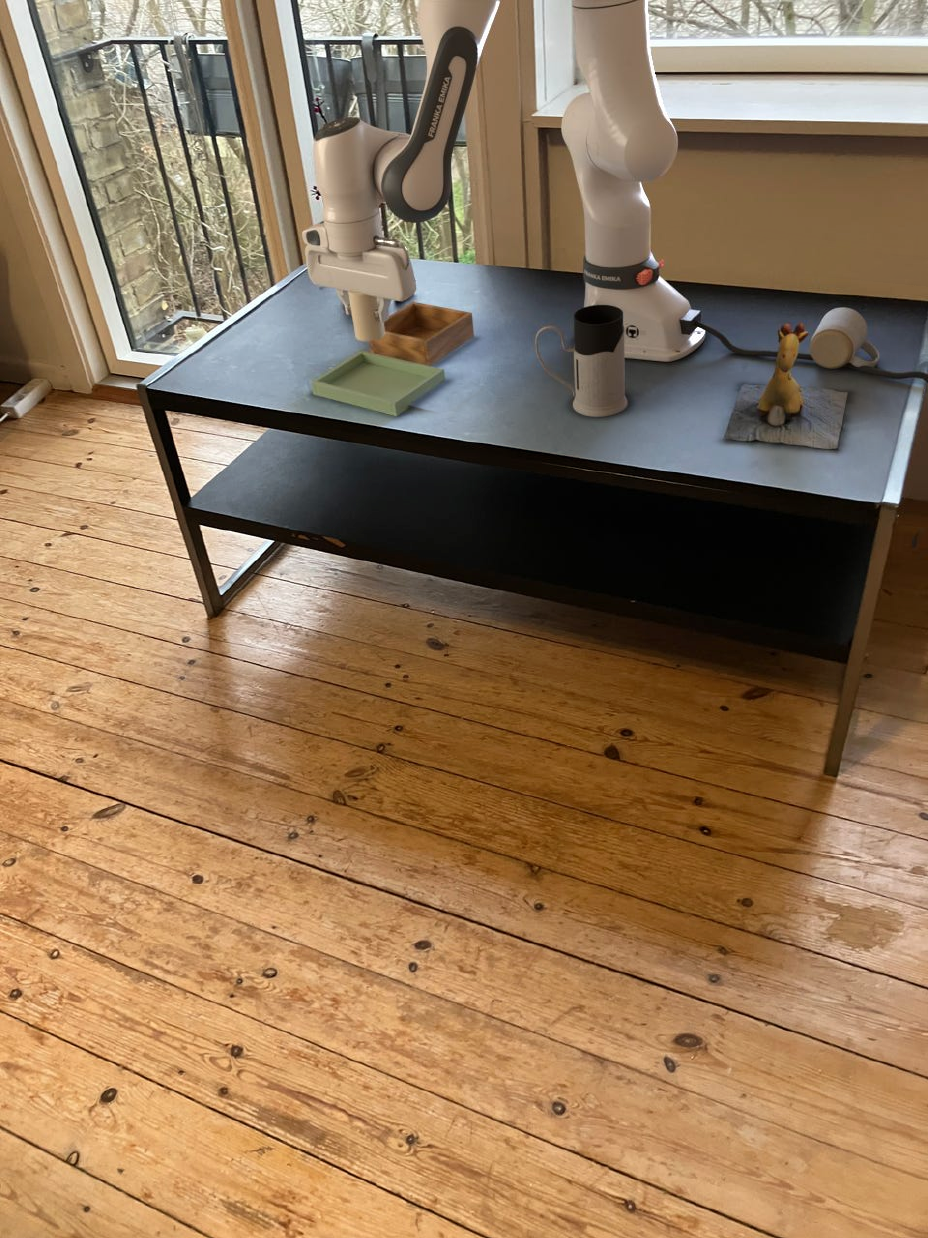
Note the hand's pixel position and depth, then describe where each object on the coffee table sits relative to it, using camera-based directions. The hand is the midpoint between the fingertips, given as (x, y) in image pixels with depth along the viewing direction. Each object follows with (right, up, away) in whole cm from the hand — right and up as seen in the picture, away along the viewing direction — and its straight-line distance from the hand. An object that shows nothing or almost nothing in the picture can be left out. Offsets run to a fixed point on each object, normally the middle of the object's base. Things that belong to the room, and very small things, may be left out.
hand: (367, 317), depth 172 cm
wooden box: (+8, 0, +19) cm, 21 cm away
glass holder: (+35, -15, -4) cm, 39 cm away
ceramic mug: (+78, -8, -1) cm, 79 cm away
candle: (0, -2, +2) cm, 3 cm away
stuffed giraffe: (+65, -19, -13) cm, 69 cm away
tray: (+1, -10, +8) cm, 13 cm away
